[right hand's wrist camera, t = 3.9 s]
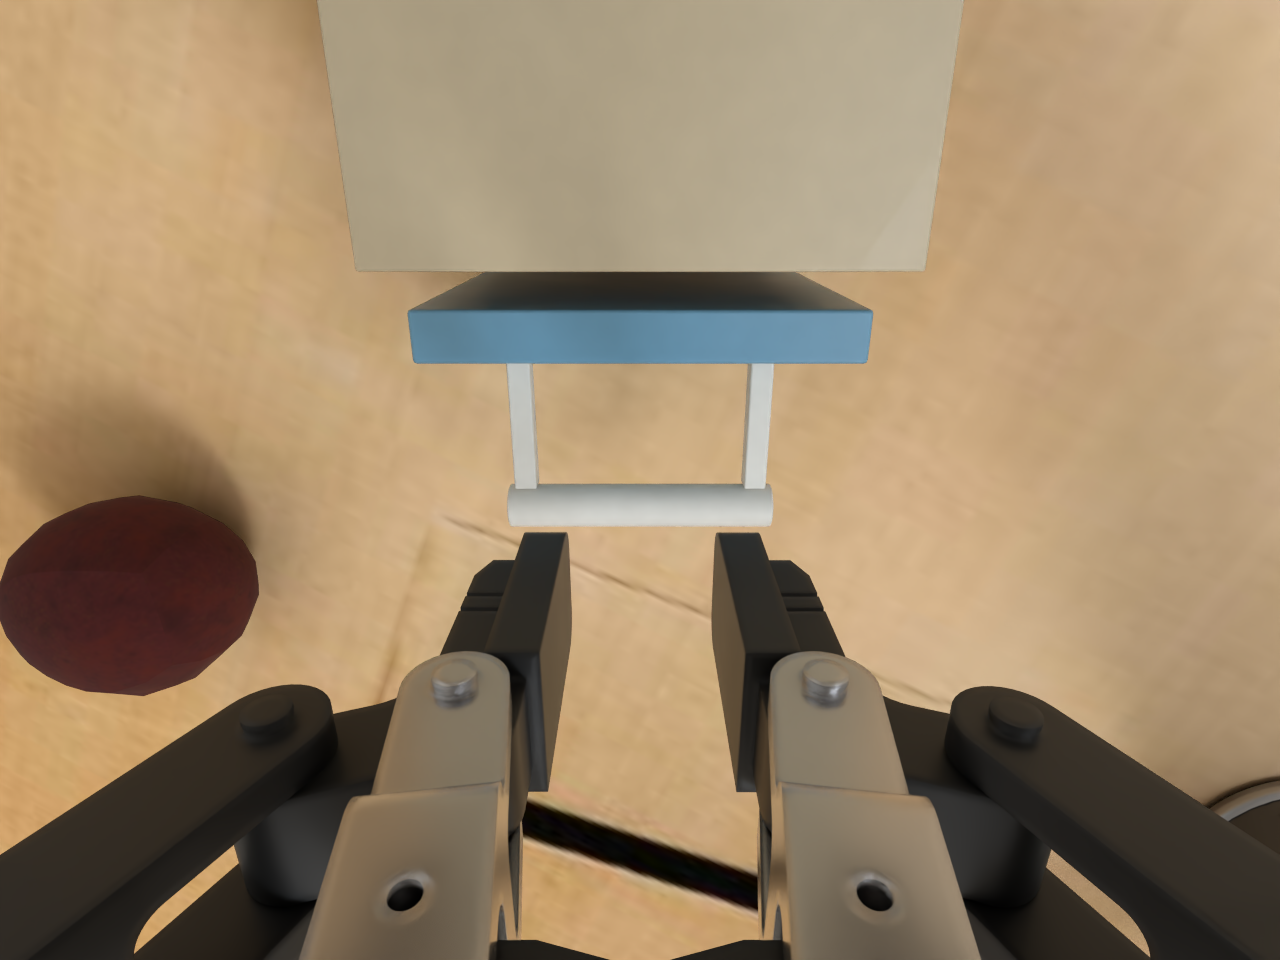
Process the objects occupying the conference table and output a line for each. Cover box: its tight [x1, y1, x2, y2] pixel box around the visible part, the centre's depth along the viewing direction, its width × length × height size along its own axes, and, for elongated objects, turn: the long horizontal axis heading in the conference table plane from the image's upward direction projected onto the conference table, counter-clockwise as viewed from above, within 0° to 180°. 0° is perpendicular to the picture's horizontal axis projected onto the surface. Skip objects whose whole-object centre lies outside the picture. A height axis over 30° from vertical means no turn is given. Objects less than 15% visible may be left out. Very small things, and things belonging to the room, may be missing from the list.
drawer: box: [408, 272, 873, 526], centre depth 19 cm, size 19×10×10 cm, turn 0°
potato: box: [0, 496, 259, 696], centre depth 26 cm, size 7×8×7 cm
